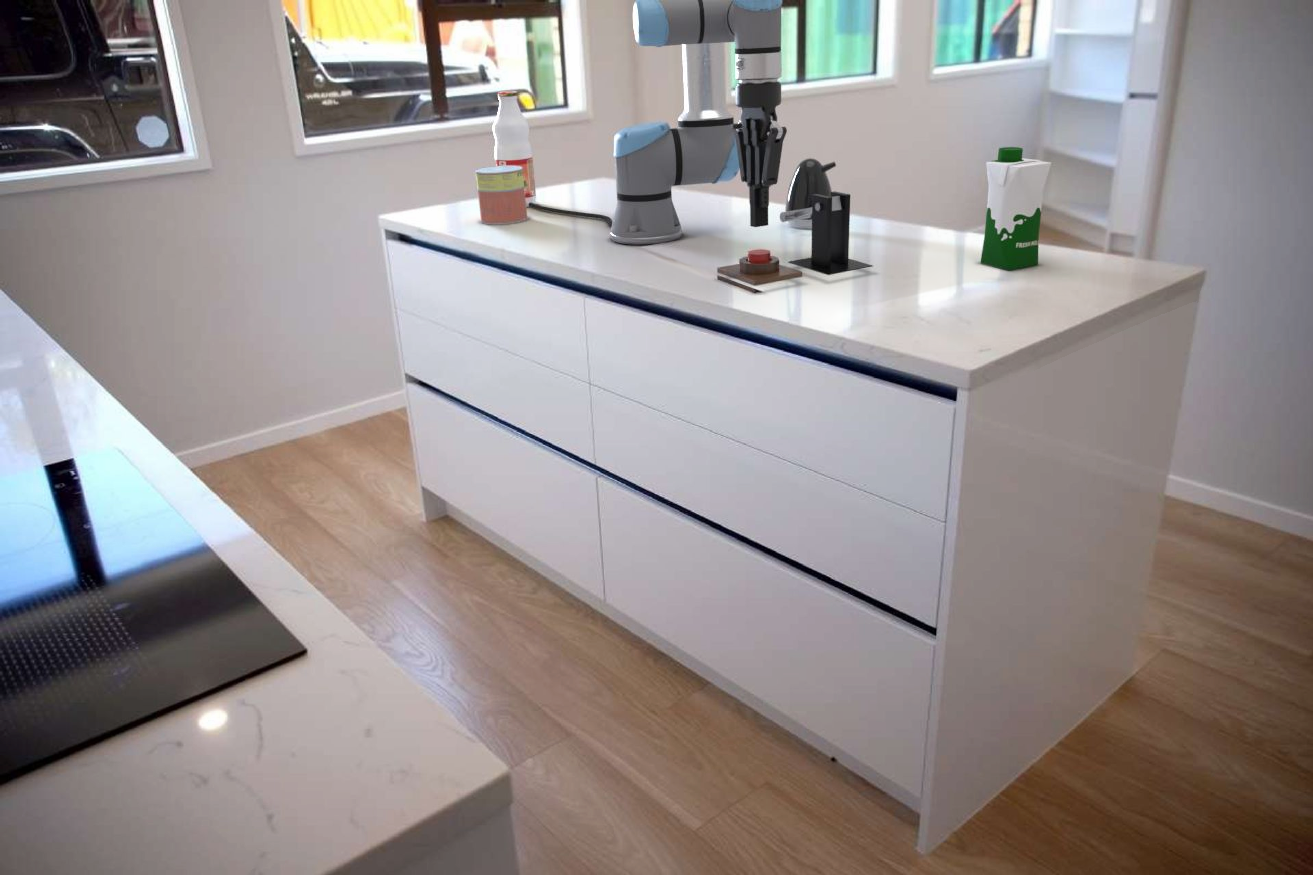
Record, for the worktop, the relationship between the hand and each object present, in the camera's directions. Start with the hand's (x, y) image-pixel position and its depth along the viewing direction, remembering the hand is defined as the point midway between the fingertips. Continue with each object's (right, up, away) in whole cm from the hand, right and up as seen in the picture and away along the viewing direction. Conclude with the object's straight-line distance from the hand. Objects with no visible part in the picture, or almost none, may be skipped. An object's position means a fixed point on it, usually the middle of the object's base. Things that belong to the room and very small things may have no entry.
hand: (759, 225), depth 172 cm
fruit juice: (-53, +23, +86) cm, 104 cm away
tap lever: (+11, +3, +9) cm, 14 cm away
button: (0, -6, +3) cm, 6 cm away
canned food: (-55, +16, +69) cm, 89 cm away
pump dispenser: (+15, +7, +41) cm, 44 cm away
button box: (0, -9, +4) cm, 10 cm away
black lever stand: (+14, -7, +9) cm, 17 cm away
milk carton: (+46, -6, +8) cm, 47 cm away
